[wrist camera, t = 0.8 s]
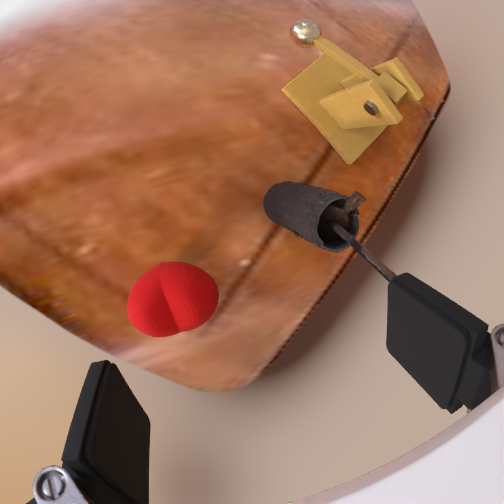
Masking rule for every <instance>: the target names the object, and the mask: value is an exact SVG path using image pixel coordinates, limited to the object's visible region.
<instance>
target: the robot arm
mask: <svg viewBox="0 0 504 504" xmlns="http://www.w3.org/2000/svg"><path fill="white" fill-rule="evenodd" d="M488 326H489V325H487V324H486V323H485V322H483V321H482V320H481V319H479V318H478V317H476V316H475V315H473V314H472V313H470V312H469V311H467V310H466V309H464V308H463V307H461V306H460V305H458V304H457V303H455V302H454V301H452V300H450V299H449V298H447V297H446V296H444V295H443V294H441V293H440V292H438V291H437V290H435V289H433V288H432V287H430V286H429V285H427V284H425V283H424V282H422V281H421V280H419V279H417V278H416V277H414V276H412V275H411V274H409V273H403V274H401V275H398V276H395V277H393V278H392V279H391V283H389V285H388V313H387V341H386V346H387V349H388V351H389V353H390V354H391V355H392V356H393V357H394V358H395V359H396V360H397V361H398V362H399V363H400V364H401V365H402V366H403V368H404V369H405V370H406V371H407V372H408V373H409V374H410V375H411V376H412V377H413V378H414V379H415V380H416V381H417V383H418V384H419V385H420V386H421V387H422V388H423V389H424V390H425V391H426V392H427V393H428V394H429V395H430V396H431V397H432V399H433V400H434V401H435V402H436V403H437V404H438V405H439V406H440V407H441V408H442V409H447V410H448V411H449V412H450V413H451V414H452V413H454V412H455V411H457V410H458V409H459V408H461V407H462V406H463V404H464V405H465V406H466V407H467V414H466V415H465V416H464V417H462V418H461V419H459V420H458V421H457V422H455V423H454V424H452V425H451V426H449V427H448V428H447V429H445V430H444V431H442V432H441V433H439V434H437V435H436V436H435V437H433V438H431V439H430V440H428V441H426V442H425V443H423V444H422V445H420V446H418V447H416V448H415V449H413V450H411V451H409V452H408V453H406V454H404V455H402V456H400V457H399V458H397V459H395V460H393V461H391V462H389V463H387V464H385V465H383V466H381V467H379V468H377V469H375V470H373V471H371V472H369V473H367V474H364V475H362V476H360V477H358V478H355V479H353V480H351V481H348V482H346V483H344V484H341V485H339V486H336V487H334V488H331V489H328V490H326V491H323V492H320V493H318V494H315V495H312V496H309V497H306V498H303V499H299V500H296V501H293V502H290V503H286V504H504V324H500V325H498V326H496V327H495V328H494V329H493V330H492V332H491V334H490V333H489V332H487V330H488ZM149 447H150V421H149V418H148V416H147V414H146V413H145V411H144V410H143V408H142V407H141V405H140V404H139V402H138V401H137V399H136V397H135V396H134V394H133V393H132V391H131V389H130V388H129V386H128V384H127V383H126V381H125V379H124V378H123V376H122V374H121V373H120V371H119V369H118V367H117V366H116V365H115V364H114V363H112V364H111V363H110V362H109V361H108V360H104V361H99V362H93V363H91V365H90V368H89V370H88V373H87V376H86V379H85V382H84V385H83V387H82V391H81V393H80V397H79V400H78V403H77V406H76V409H75V412H74V416H73V419H72V422H71V425H70V429H69V433H68V436H67V440H66V443H65V448H64V451H63V455H62V459H61V460H62V461H63V464H62V467H60V466H55V465H53V466H48V467H45V468H43V469H42V470H41V471H40V472H38V473H37V475H36V476H35V478H34V481H33V485H32V491H33V494H34V498H33V499H32V500H30V501H29V502H28V503H26V504H149Z"/></svg>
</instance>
